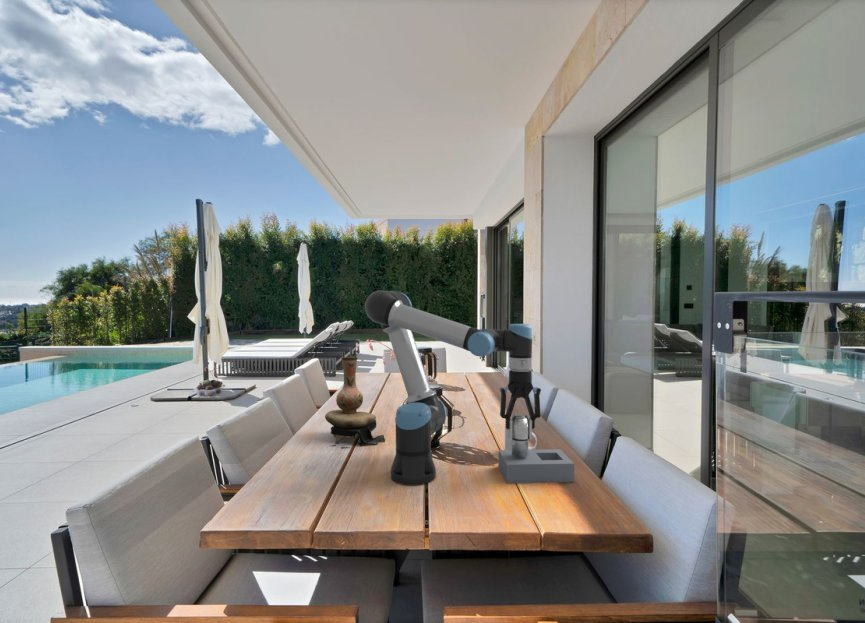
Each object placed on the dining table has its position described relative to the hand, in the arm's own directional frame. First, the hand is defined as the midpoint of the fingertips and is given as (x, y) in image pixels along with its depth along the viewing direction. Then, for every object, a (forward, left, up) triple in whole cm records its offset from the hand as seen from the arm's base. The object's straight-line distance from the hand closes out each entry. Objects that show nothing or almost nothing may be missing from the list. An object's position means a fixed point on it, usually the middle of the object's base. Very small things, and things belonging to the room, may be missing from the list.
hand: (519, 438), depth 149 cm
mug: (+5, +19, -13) cm, 23 cm away
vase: (-61, +42, -13) cm, 75 cm away
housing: (+5, 0, -12) cm, 13 cm away
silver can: (0, 0, -5) cm, 5 cm away
